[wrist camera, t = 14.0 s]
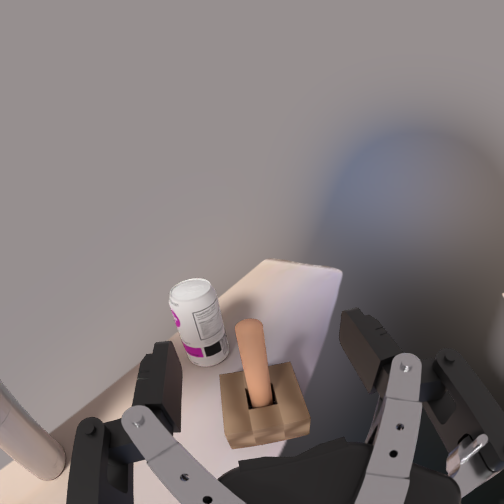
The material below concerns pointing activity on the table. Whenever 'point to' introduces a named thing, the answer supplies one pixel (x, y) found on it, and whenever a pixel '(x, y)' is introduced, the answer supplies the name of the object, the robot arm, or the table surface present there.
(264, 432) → the socket block
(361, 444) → the robot arm
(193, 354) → the supplement can
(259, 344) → the peg
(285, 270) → the table surface
